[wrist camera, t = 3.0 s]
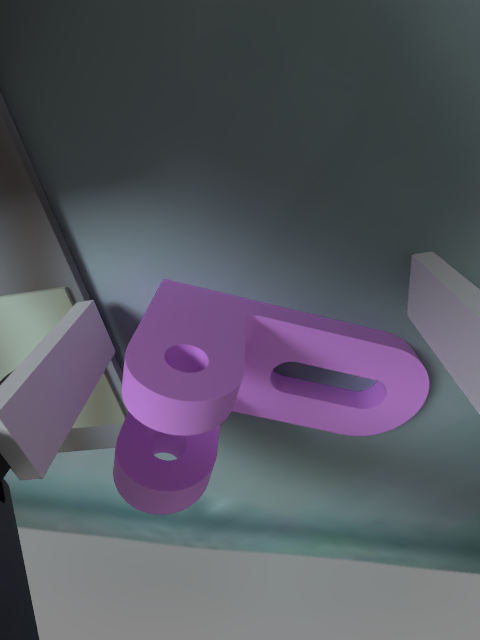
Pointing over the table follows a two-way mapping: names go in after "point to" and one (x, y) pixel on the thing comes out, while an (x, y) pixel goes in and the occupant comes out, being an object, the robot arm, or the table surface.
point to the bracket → (243, 385)
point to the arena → (43, 288)
